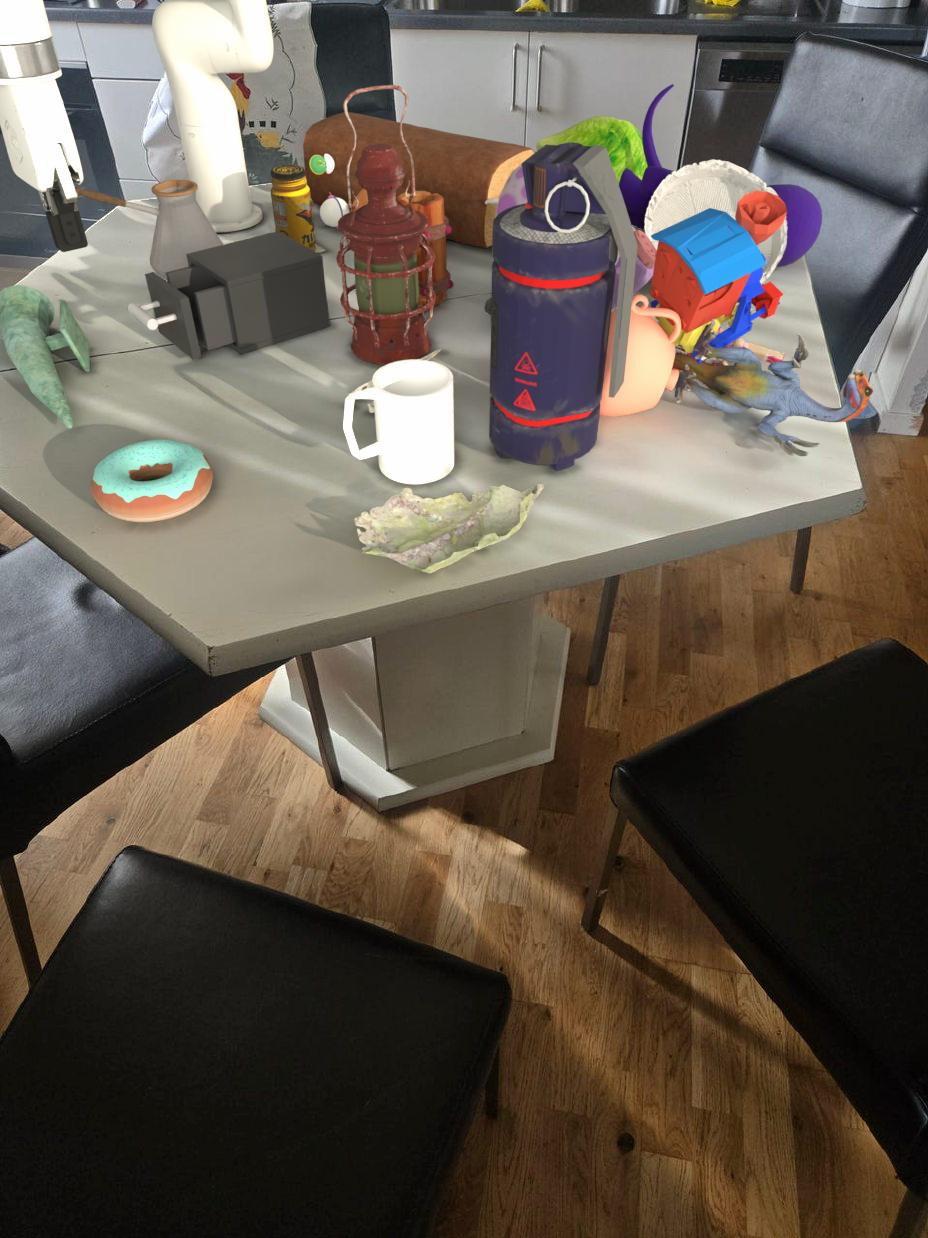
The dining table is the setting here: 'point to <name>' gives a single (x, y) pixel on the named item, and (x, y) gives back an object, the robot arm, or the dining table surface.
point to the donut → (139, 500)
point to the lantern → (385, 257)
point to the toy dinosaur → (763, 388)
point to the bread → (419, 168)
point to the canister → (558, 305)
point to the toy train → (716, 270)
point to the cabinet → (268, 288)
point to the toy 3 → (798, 200)
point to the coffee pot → (171, 223)
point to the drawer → (188, 310)
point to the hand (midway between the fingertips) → (72, 247)
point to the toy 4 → (760, 351)
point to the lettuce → (607, 142)
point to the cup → (409, 421)
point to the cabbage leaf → (443, 525)
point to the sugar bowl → (642, 361)
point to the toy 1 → (333, 205)
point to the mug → (436, 234)
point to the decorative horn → (40, 343)
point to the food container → (710, 202)
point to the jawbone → (369, 385)
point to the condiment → (293, 205)
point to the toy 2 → (645, 252)
